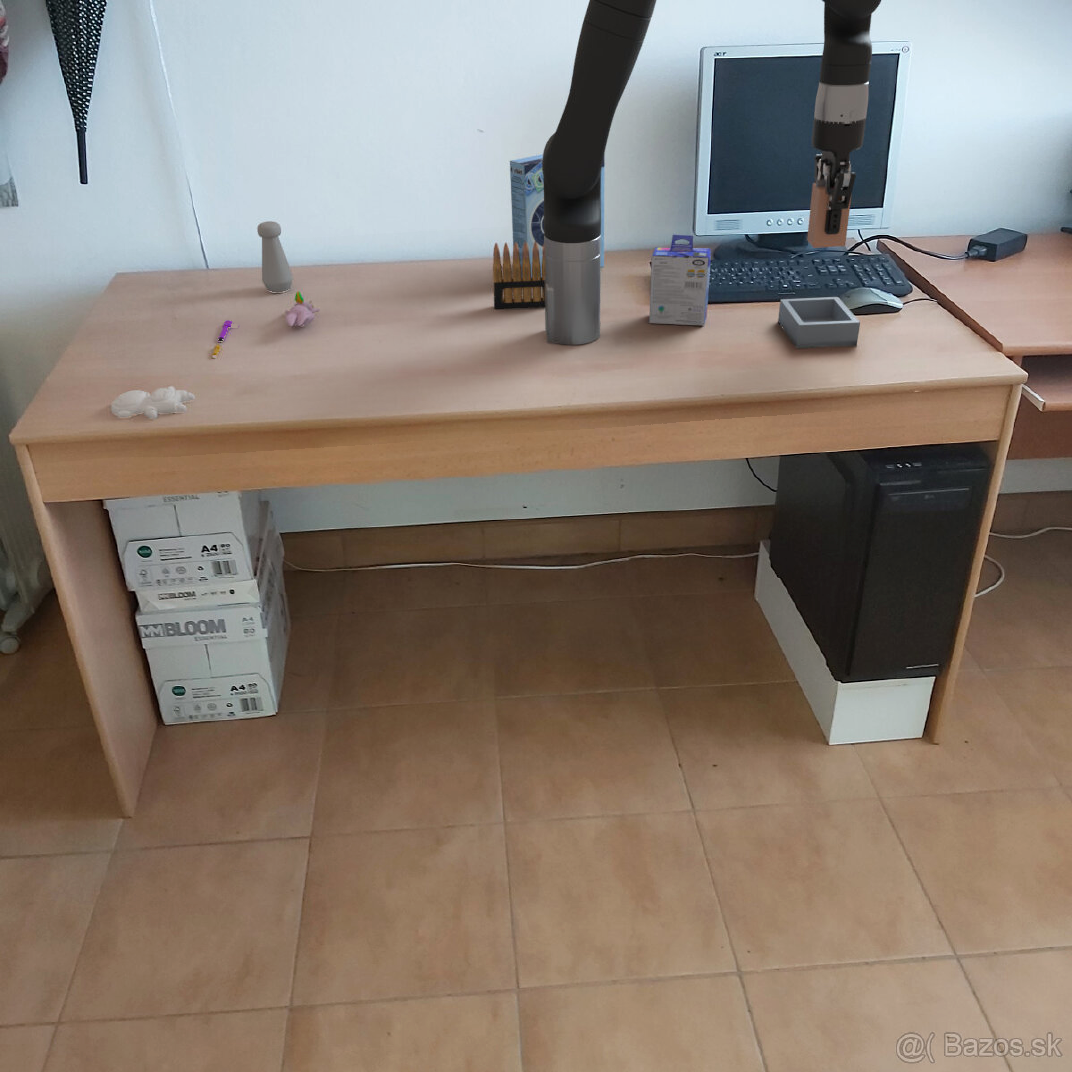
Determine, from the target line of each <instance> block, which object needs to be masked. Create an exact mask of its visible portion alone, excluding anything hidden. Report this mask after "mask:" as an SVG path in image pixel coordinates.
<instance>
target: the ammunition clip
mask: <svg viewBox="0 0 1072 1072" xmlns="http://www.w3.org/2000/svg"><path fill="white" fill-rule="evenodd" d="M502 249H503V250H502V251H503V252H502V257H503V258H502V261H501V252H500V247H499V245H498V243H497V242H495V243H494V246H493V255H492V256H493V258H492V259H493V263H492V278H493V281H492V282H493V309H494V310H496V311H497V310H502V311H503V310H520V309H521V310H522V309H541V308H542V309H545V286H544V277H545V246H544V245H543V257H542V277H541V265H540V258H539V249H538V244H537V242H536V241H535V242H534V246H533V257H532V278H531V265H530V258H529V249H528V245H527V243H526V242H525V243H524V246H523V258H522V275H521V264H520V255H519V248H518V245H517V243H516V242H515V244H514V247H513V246H512V264H511V253H510V249H509V245H508V243H507V242H505V243H504V245H503V248H502ZM501 262H502V263H501Z"/></svg>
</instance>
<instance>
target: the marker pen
mask: <svg viewBox="0 0 1072 1072" xmlns="http://www.w3.org/2000/svg"><path fill="white" fill-rule="evenodd" d="M232 323H233V321H232V320H229V319H228V320H225V321H224V322H223V325H222V329H221V332H220V334H219V337H218V338H217V339H219V340H217V342H218V341H223V340H222V339H224V336H225V335H226V332H227V328H228V327H231V324H232ZM227 333H228V332H227ZM226 336H227V335H226ZM223 342H224V341H223ZM220 347H221V348H222V346H221V344H220V345H219V344H215V345H214V347H213V351H212V353H211V356H212V355H217V353H218V352H219V349H220ZM219 353H220V352H219Z"/></svg>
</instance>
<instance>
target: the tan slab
mask: <svg viewBox="0 0 1072 1072" xmlns="http://www.w3.org/2000/svg"><path fill="white" fill-rule="evenodd" d="M834 187H835V186H833V187H830V188H831V189H834ZM851 196H852V194H851ZM810 199H811V200H810V207H809V209H810V210H809V219H808V228H807V239H806V241H807V242H808V244H810V245H811V246H812V247H813V249H815V248H816V249H818V248H833V247H835V248H838V247H846V243H847V234H848V228H849V227H848V226H849V219H850V209H851V202H852V197H851V198H850V202H849V206H848V209H844V210H842V214H841V222H840V231H839V233H838V234H830V235H828V234H826V233H825V232H824V229H825V220H826V211H827V207H826V206H827V194H825V189H824V179H823V180H816V183H815V182H813V183H812V189H811V198H810ZM837 201H840V197H838V199H837Z"/></svg>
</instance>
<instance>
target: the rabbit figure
mask: <svg viewBox="0 0 1072 1072" xmlns="http://www.w3.org/2000/svg"><path fill="white" fill-rule="evenodd" d="M294 297H295V298H294V301H295V303H294V305H293V306H292V307H291V308H290V309H289V310H287V309H286V310H284V314H286V315H285V316H284V320H285V322H286V324H287V325H288V326H290V327H293V326H295V327H300V326H303V325H305V326H306V325H308V324H310V323H311V322H312V321H314V320H315V314H314V313H316V312H319V311H320V308H315V307H314V305H313V303H312V300H310V301H305V300H304V297H303V295H302V293H301V292H300V291H299V290H298V291H297V292H295V296H294ZM303 327H304V326H303Z"/></svg>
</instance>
